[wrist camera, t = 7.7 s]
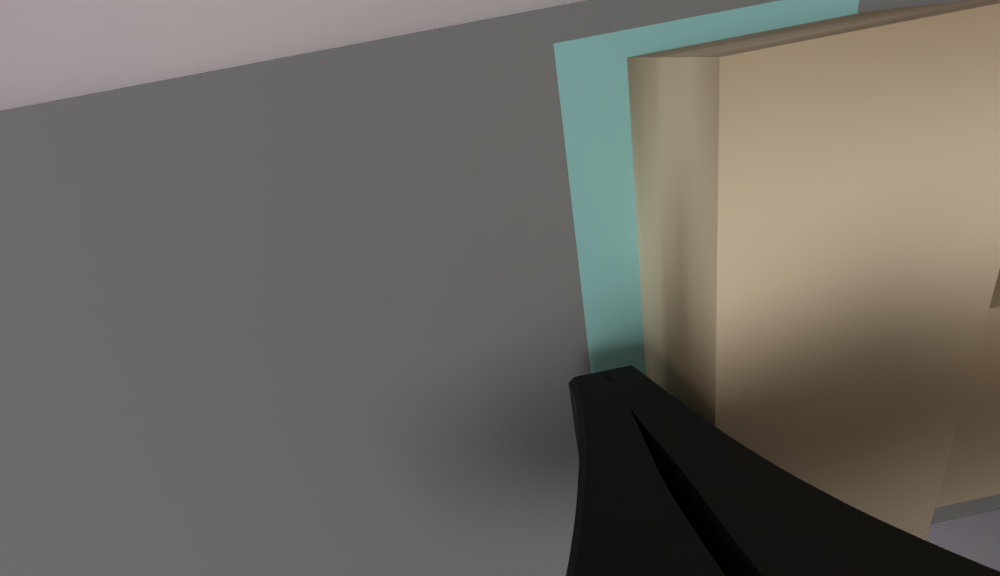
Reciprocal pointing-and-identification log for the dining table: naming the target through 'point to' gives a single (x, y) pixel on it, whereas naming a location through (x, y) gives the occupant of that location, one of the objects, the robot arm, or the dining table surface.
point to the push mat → (331, 300)
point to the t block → (832, 248)
